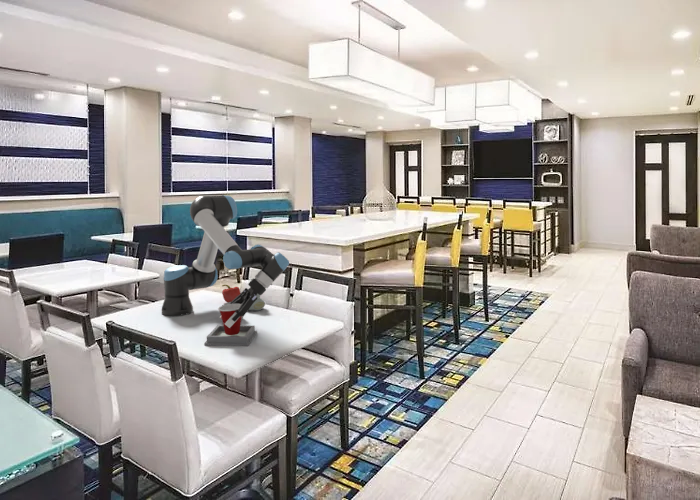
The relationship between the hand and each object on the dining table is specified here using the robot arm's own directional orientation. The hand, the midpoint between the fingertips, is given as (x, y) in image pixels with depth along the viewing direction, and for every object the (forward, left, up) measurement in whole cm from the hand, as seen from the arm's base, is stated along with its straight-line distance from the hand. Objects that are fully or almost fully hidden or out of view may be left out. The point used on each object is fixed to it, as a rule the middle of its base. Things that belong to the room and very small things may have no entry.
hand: (224, 322), depth 209 cm
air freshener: (-50, +2, -8) cm, 51 cm away
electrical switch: (-30, -4, -8) cm, 32 cm away
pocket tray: (-1, +3, -7) cm, 8 cm away
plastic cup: (-1, +3, -5) cm, 6 cm away
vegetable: (-64, -13, -8) cm, 66 cm away
